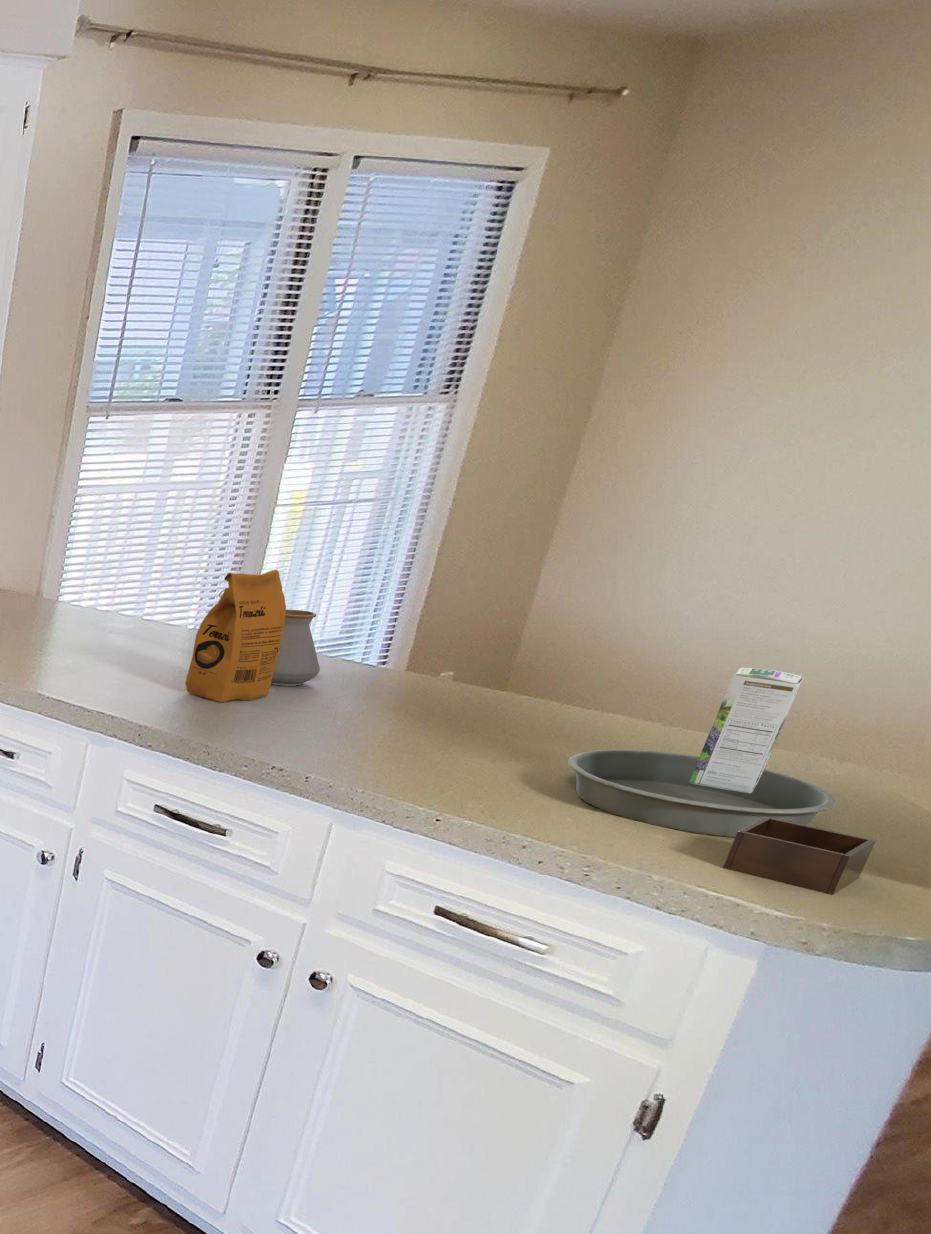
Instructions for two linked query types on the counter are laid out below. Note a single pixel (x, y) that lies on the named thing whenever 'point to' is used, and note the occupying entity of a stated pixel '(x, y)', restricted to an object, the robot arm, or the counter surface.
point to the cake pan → (688, 793)
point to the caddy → (799, 855)
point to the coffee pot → (296, 651)
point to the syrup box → (746, 729)
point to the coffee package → (239, 640)
